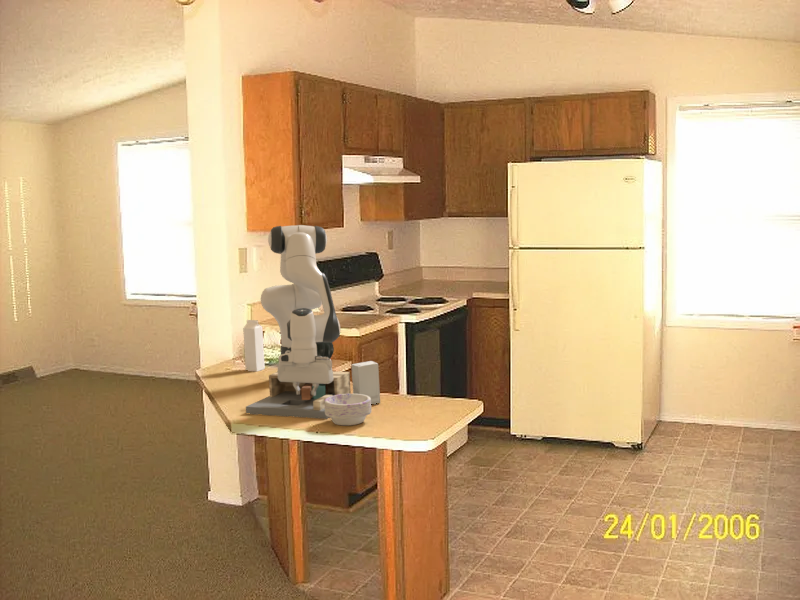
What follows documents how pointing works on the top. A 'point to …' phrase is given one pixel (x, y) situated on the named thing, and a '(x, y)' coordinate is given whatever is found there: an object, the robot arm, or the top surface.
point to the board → (287, 406)
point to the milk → (253, 346)
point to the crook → (308, 391)
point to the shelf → (276, 387)
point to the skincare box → (366, 380)
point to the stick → (320, 402)
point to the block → (320, 391)
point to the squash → (325, 349)
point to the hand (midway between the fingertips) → (306, 395)
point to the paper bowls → (348, 408)
